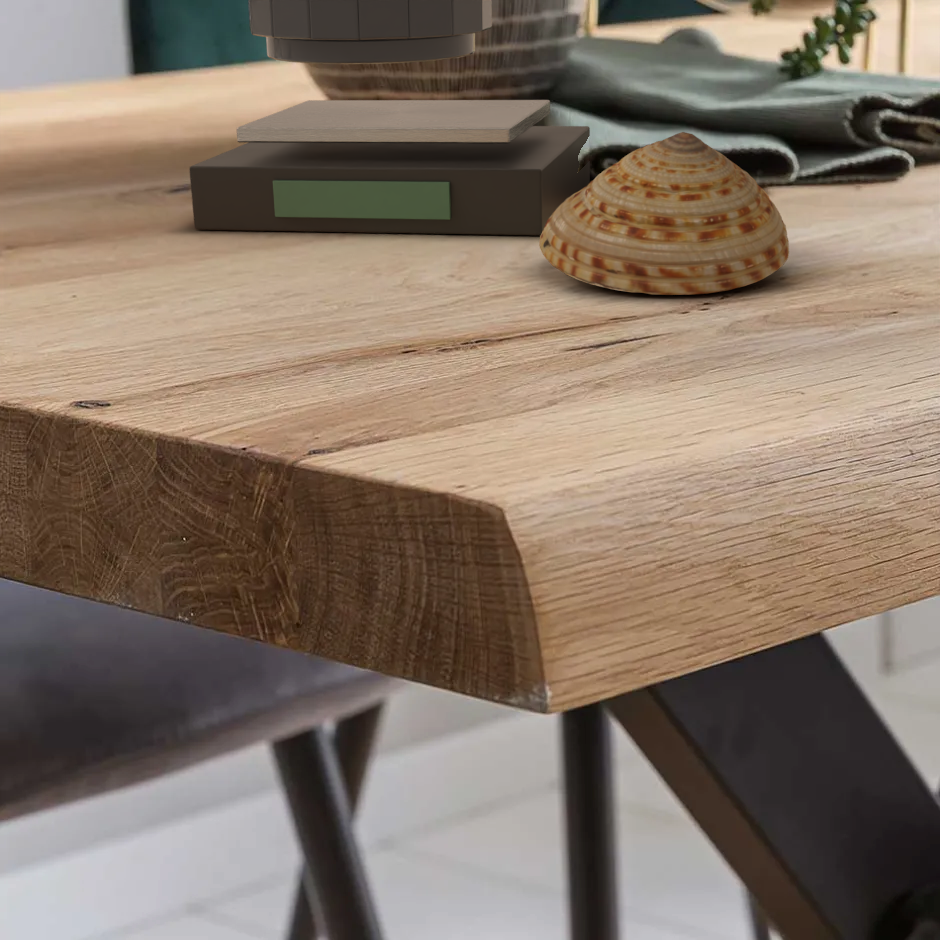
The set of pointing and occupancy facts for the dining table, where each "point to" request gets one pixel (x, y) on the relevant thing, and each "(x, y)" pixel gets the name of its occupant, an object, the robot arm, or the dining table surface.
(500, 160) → the scale
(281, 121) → the scale pan
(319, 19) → the grey faceted cup
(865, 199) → the dining table surface
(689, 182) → the seashell
